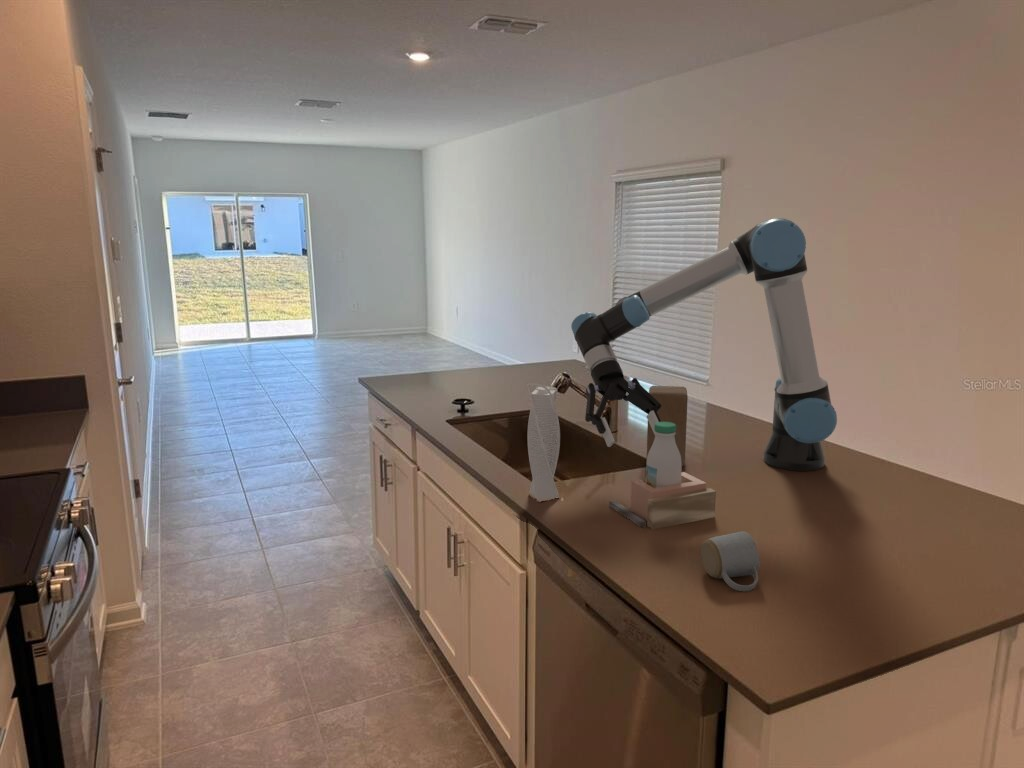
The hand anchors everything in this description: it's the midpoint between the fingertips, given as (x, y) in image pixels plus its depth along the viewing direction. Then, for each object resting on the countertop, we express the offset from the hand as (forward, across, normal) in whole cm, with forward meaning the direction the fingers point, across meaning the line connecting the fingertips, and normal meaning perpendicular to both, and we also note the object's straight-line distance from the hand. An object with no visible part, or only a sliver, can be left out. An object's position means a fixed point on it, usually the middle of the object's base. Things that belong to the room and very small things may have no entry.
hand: (636, 440), depth 163 cm
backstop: (+18, +1, -1) cm, 18 cm away
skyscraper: (+4, +21, -14) cm, 26 cm away
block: (-3, -20, -21) cm, 30 cm away
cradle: (+19, +1, +1) cm, 19 cm away
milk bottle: (+18, +1, -1) cm, 18 cm away
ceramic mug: (+40, +7, +21) cm, 46 cm away
